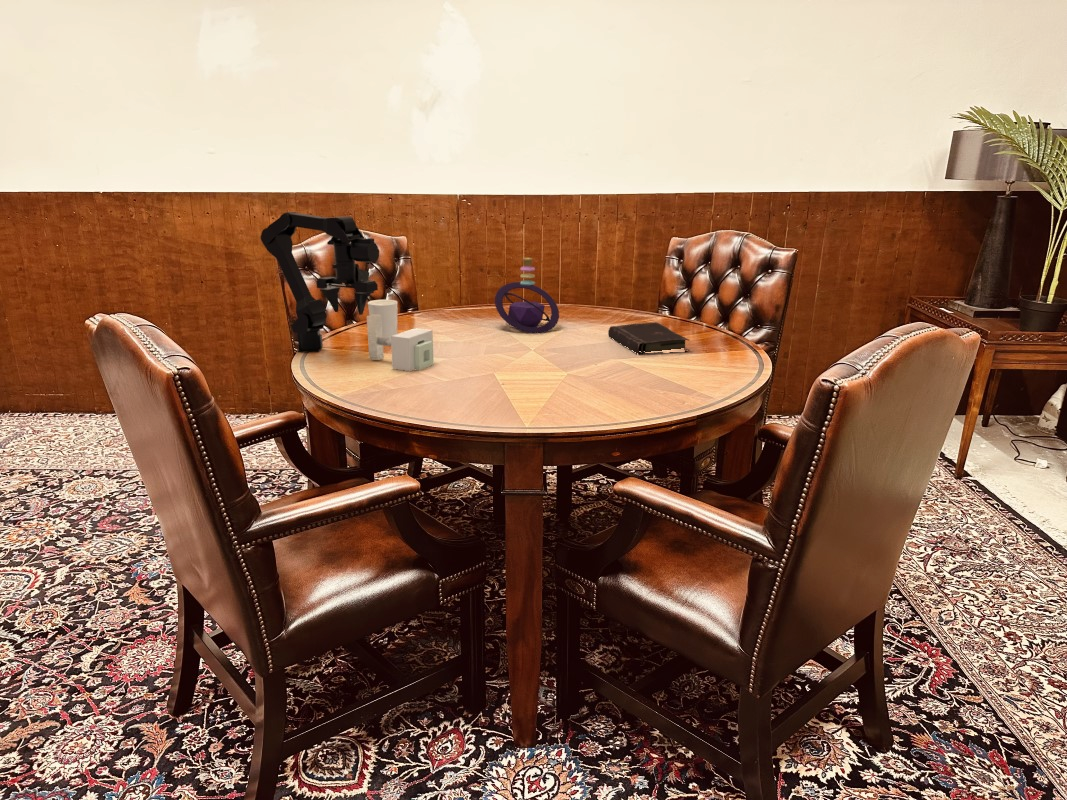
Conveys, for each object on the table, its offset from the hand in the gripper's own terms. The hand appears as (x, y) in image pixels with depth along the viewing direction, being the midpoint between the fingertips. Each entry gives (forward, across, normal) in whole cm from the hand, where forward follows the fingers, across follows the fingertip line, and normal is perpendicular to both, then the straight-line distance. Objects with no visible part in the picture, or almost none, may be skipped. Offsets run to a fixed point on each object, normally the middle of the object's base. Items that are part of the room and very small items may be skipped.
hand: (348, 313), depth 216 cm
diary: (+14, -76, -57) cm, 96 cm away
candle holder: (+13, +6, -24) cm, 28 cm away
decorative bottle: (+13, -30, -60) cm, 68 cm away
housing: (+13, -23, +1) cm, 27 cm away
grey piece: (+13, -16, +1) cm, 21 cm away
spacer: (+13, -27, +1) cm, 30 cm away
